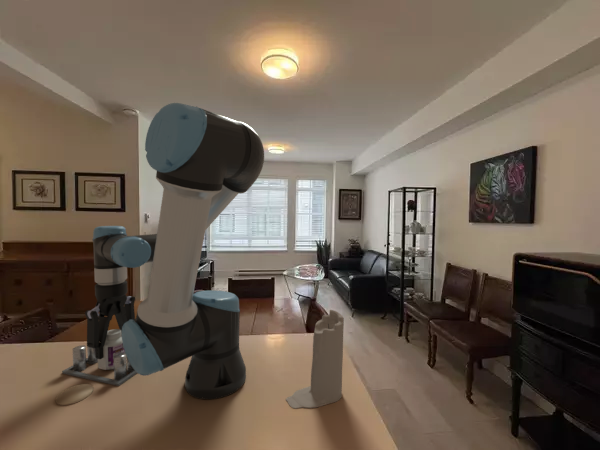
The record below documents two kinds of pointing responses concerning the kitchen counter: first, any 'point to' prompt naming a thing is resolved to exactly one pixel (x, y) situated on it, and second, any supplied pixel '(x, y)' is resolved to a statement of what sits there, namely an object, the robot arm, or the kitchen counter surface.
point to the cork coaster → (74, 394)
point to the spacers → (80, 361)
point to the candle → (324, 365)
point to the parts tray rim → (98, 378)
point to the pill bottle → (114, 346)
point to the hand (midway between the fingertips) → (113, 361)
